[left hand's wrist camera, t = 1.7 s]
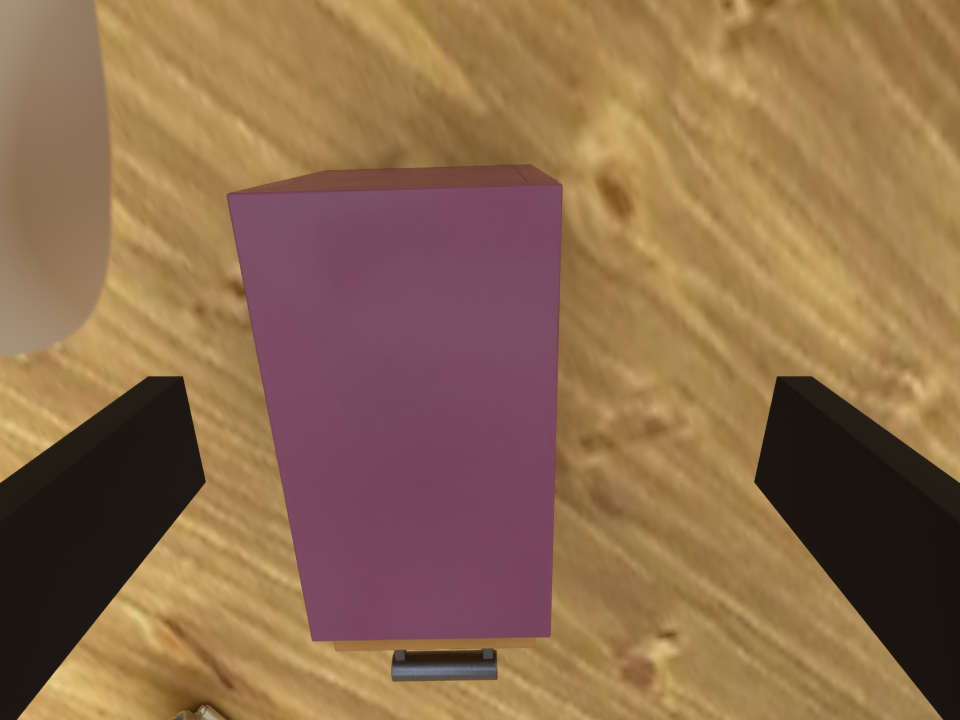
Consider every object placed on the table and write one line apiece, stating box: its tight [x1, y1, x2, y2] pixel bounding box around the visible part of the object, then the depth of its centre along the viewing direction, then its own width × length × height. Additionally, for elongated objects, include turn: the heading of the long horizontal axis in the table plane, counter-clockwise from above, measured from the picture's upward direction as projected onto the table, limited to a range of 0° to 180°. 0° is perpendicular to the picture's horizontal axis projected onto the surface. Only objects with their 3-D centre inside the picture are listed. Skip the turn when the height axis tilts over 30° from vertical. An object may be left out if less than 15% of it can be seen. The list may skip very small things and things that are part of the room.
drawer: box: [334, 637, 535, 681], centre depth 29 cm, size 24×10×10 cm, turn 1°
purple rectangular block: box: [227, 165, 562, 641], centre depth 27 cm, size 20×11×12 cm, turn 1°
